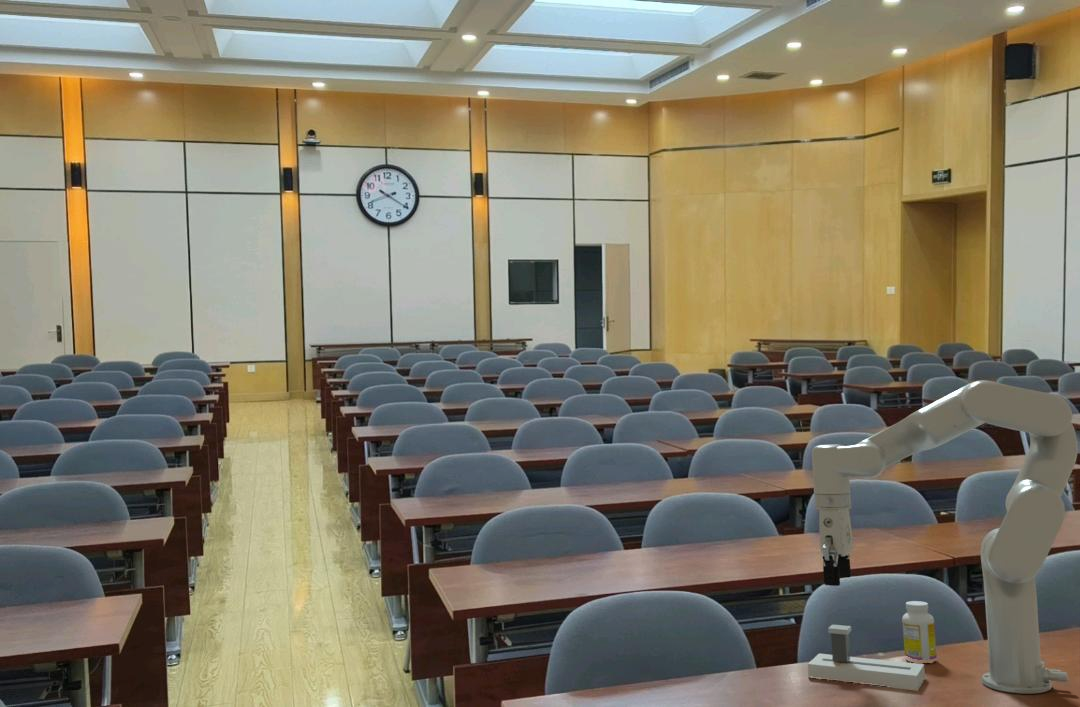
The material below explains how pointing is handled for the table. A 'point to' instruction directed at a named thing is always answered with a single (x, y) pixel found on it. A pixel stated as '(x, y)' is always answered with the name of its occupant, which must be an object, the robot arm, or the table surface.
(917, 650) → the supplement bottle
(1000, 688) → the robot arm
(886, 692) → the table surface
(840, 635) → the fader tab
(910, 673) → the block
